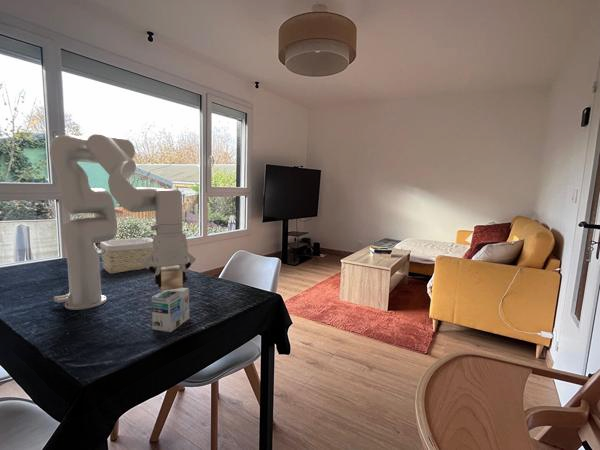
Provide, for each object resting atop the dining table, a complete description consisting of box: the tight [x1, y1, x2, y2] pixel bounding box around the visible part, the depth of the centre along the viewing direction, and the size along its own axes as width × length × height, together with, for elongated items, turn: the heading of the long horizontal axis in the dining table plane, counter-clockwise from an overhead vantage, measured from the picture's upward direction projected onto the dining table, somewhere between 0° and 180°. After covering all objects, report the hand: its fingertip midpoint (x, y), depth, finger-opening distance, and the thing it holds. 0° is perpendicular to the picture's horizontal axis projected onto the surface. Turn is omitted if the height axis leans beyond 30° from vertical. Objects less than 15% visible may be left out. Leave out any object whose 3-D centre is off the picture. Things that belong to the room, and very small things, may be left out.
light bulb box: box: [151, 287, 190, 333], centre depth 97 cm, size 11×7×11 cm, turn 168°
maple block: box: [160, 265, 184, 292], centre depth 96 cm, size 6×6×6 cm
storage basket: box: [99, 237, 156, 274], centre depth 158 cm, size 24×16×15 cm
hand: (170, 284), depth 96 cm, fingers closed on maple block, 6 cm apart
